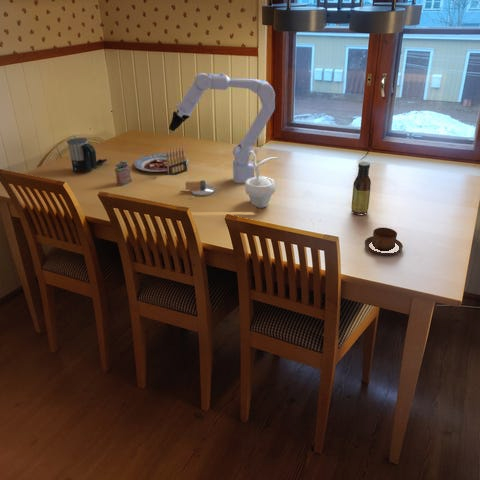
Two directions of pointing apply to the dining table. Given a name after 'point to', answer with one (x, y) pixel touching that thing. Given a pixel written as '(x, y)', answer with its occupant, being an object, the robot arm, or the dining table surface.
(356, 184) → the sauce bottle
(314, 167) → the dining table surface
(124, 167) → the lighter
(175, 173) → the ammunition clip
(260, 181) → the potted plant
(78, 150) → the milk frother
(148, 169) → the ceramic plate
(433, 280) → the dining table surface
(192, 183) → the dial
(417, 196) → the dining table surface
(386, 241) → the cup and saucer
